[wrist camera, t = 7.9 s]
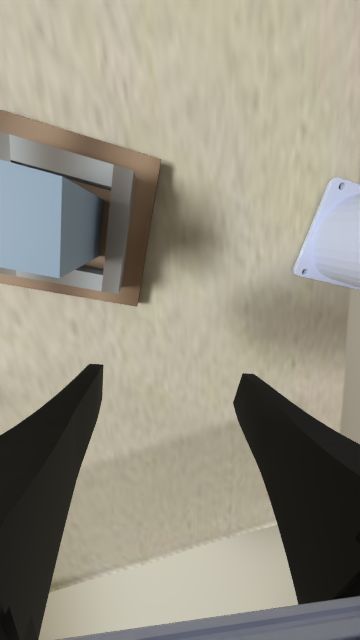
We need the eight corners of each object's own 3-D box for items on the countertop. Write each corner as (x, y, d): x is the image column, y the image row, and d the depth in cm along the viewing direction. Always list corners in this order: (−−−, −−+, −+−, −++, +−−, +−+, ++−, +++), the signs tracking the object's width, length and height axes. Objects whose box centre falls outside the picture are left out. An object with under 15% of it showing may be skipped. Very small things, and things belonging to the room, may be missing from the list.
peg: (103, 199, 16) (62, 176, 8) (98, 256, 17) (59, 278, 10) (43, 184, 15) (-62, 142, 8) (43, 244, 16) (-45, 259, 9)
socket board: (160, 163, 16) (162, 148, 13) (137, 302, 20) (135, 315, 17) (-10, 111, 14) (-54, 80, 11) (2, 279, 18) (-27, 289, 15)
